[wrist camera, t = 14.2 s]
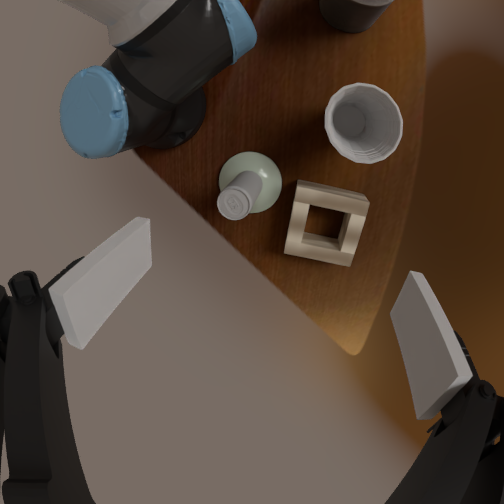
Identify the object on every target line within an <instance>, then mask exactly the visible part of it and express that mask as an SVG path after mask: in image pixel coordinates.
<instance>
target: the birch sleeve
mask: <svg viewBox="0 0 504 504" xmlns="http://www.w3.org/2000/svg"><path fill="white" fill-rule="evenodd" d="M369 204H370V202H369V201H368V200H367V198H366V197H365V195H364V194H361V193H357V192H353V191H349V190H345V189H340V188H336V187H331V186H327V185H322V184H318V183H313V182H308V181H303V180H298V181H297V186H296V191H295V196H294V202H293V207H292V212H291V217H290V222H289V227H288V232H287V237H286V242H285V248H284V253H285V254H290V255H295V256H300V257H305V258H310V259H315V260H320V261H325V262H330V263H334V264H339V265H344V266H349V267H350V265H351V262H352V259H353V256H354V253H355V250H356V247H357V244H358V241H359V238H360V234H361V231H362V228H363V225H364V221H365V218H366V214H367V211H368V207H369ZM309 205H315V206H319V207H324V208H329V209H333V210H338V211H342V212H345V215H344V218H343V222H342V226H341V229H340V233H339V236H338V239H335V238H330V237H325V236H321V235H316V234H311V233H306V232H304V228H305V224H306V219H307V215H308V210H309Z"/></svg>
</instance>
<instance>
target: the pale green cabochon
mask: <svg viewBox="0 0 504 504" xmlns="http://www.w3.org/2000/svg"><path fill="white" fill-rule="evenodd" d="M247 170H248V171H253V172H255V173H256V174H258V175H259V176H260V177H261V179H262V183H263V186H262V190H261V192H260V194H259V196H258V198H257V199H256V201H255V203H254V205H253V207H252V209H251V211H250V212H249V213H258V212H262V211H264V210H266V209H268V208H269V207H271V206H272V205H273V204H274V203H275V202H276V200H277V199H278V197H279V195H280V192H281V188H282V177H281V173H280V171H279V169H278V167H277V165H276V164H275V163H274V162H273V161H272V160H271V159H270V158H269V157H267V156H265V155H264V154H261V153H258V152H251V151H250V152H242V153H239V154H237V155H235V156H233V157H232V158H230V159H229V160H228V161H227V162H226V163H225V164H224V166H223V168H222V170H221V172H220V176H219V187H220V191H222V190H223V189H224V188H225V187H226V186H227V185H228V184H229V183H230V182H231V181H232V180H233V179H234V178H235V177H236V176H237V175H239V174H240V173H241V172H243V171H247Z"/></svg>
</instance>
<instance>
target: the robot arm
mask: <svg viewBox="0 0 504 504" xmlns="http://www.w3.org/2000/svg"><path fill="white" fill-rule="evenodd" d="M58 1H60V2H62V3H65V4H67V5H69V6H71V7H73V8H75V9H77V10H79V11H80V12H83V13H84V14H86V15H88V16H90V17H92V18H94V19H95V20H97V21H99V22H101V23H103V24H104V25H106V26H107V27H108V34H109V44H111V45H112V46H114V47H115V48H117V49H116V50H115V51H114V52H113V53H112V54H111V55H110V56H109V58H108V59H107V60H106V61H105V62H104V63H103V64H102V66H91V67H89V68H87V69H83V70H81V71H79V72H78V73H77V74H75V75H74V76H73V77H72V78H71V80H70V81H69V83H68V84H67V86H66V88H65V90H64V92H63V95H62V99H61V104H60V116H61V117H60V123H61V129H62V132H63V135H64V137H65V139H66V141H67V142H68V144H69V146H70V147H71V148H72V149H73V150H74V151H75V152H76V153H77V154H79V155H80V156H82V157H85V158H91V159H97V158H103V157H110V156H113V155H115V154H117V153H120V152H123V151H126V150H129V149H132V148H136V147H139V146H142V145H146V146H149V147H152V148H157V149H167V148H172V147H175V146H178V145H181V144H183V143H185V142H186V141H188V140H189V139H190V138H192V137H193V136H194V135H195V133H196V132H197V131H198V130H199V128H200V126H201V124H202V122H203V120H204V117H205V112H206V98H205V94H204V91H203V89H202V87H201V86H202V85H204V84H205V83H206V82H208V81H209V80H210V79H211V78H213V77H214V76H215V75H217V74H218V73H219V72H221V71H222V70H223V69H225V68H226V67H227V66H229V65H233V64H234V63H235V62H236V61H237V59H238V58H240V57H241V56H242V55H244V54H245V53H246V52H248V51H249V50H251V49H252V48H253V47H254V45H255V43H256V40H257V33H256V30H255V27H254V25H253V23H252V21H251V19H250V17H249V15H248V14H247V12H246V10H245V9H244V7H243V6H242V4H241V3H240V2H239V0H58ZM151 266H152V259H151V239H150V219H147V218H142V217H136V218H135V219H133V220H132V221H131V222H129V223H128V224H127V225H125V226H124V227H123V228H121V229H120V230H119V231H117V232H116V233H115V234H113V235H112V236H111V237H109V238H108V239H107V240H106V241H104V242H103V243H102V244H101V245H99V246H98V247H97V248H96V249H94V250H93V251H92V252H91V253H89V254H88V255H87V256H86V257H81V258H79V259H77V260H75V261H73V262H72V263H71V264H69V265H68V266H67V267H66V269H63V270H62V271H61V272H60V274H58V275H56V276H55V277H54V278H53V279H52V280H51V281H50V282H48V283H47V284H46V285H45V286H44V287H43V288H42V289H41V288H40V285H39V282H38V278H37V275H36V274H35V273H34V272H33V271H23V272H19V273H17V274H16V275H14V276H13V277H12V278H11V279H10V280H9V282H8V285H9V288H10V291H11V293H12V296H13V297H11V296H8V295H7V293H6V290H5V288H4V287H3V286H1V285H0V472H1V456H2V444H3V436H4V429H5V442H6V452H7V459H8V467H9V479H7V480H6V481H4V482H3V485H2V495H3V500H4V504H96V503H95V502H94V500H93V499H92V497H91V495H90V492H89V489H88V486H87V483H86V480H85V476H84V473H83V470H82V467H81V463H80V459H79V455H78V451H77V447H76V443H75V439H74V434H73V430H72V425H71V419H70V414H69V408H68V401H67V394H66V387H65V378H64V368H63V354H62V344H61V340H60V338H61V336H62V335H63V334H65V336H66V338H67V341H68V343H69V344H71V345H73V346H75V347H77V348H79V349H81V350H83V349H84V347H85V346H86V345H87V343H88V342H89V341H90V339H91V338H92V337H93V336H94V334H95V333H96V332H97V331H98V329H99V328H100V327H101V325H102V324H103V323H104V322H105V320H106V319H107V318H108V317H109V316H110V314H111V313H112V312H113V311H114V309H115V308H116V307H117V306H118V305H119V303H120V302H121V301H122V300H123V299H124V297H125V296H126V295H127V294H128V293H129V292H130V290H131V289H132V288H133V287H134V286H135V284H136V283H137V282H138V281H139V280H140V279H141V277H142V276H143V275H144V274H145V273H146V272H147V271H148V270H149V268H150V267H151ZM390 316H391V319H392V322H393V325H394V328H395V332H396V335H397V338H398V342H399V345H400V349H401V353H402V356H403V360H404V363H405V368H406V371H407V376H408V380H409V383H410V388H411V392H412V397H413V402H414V407H415V412H416V417H417V420H423V419H432V418H433V417H434V416H435V415H436V414H437V413H438V412H439V411H441V414H442V418H441V419H439V420H438V421H437V422H436V423H435V424H434V425H433V426H432V427H431V428H429V429H428V431H427V433H429V432H430V431H431V430H433V431H432V433H431V435H430V437H429V439H428V440H427V442H426V444H425V446H424V447H423V449H422V450H421V452H420V454H419V455H418V457H417V459H416V460H415V462H414V463H413V465H412V467H411V468H410V469H409V471H408V473H407V474H406V476H405V477H404V478H403V480H402V481H401V483H400V484H399V485H398V487H397V488H396V489H395V491H394V492H393V493H392V495H391V496H390V497H389V499H388V500H387V501H386V503H385V504H504V397H500V396H498V395H496V391H495V389H494V388H493V386H492V385H491V384H490V383H489V382H487V381H485V380H480V379H479V376H478V374H477V371H476V369H475V366H474V364H473V362H472V360H471V357H470V356H469V353H468V351H467V349H466V346H465V344H464V342H463V340H462V338H461V337H460V336H459V335H458V333H457V332H456V331H453V329H452V327H451V326H450V323H449V321H448V319H447V317H446V315H445V314H444V311H443V310H442V308H441V306H440V304H439V302H438V300H437V298H436V297H435V295H434V293H433V291H432V290H431V288H430V286H429V284H428V283H427V281H426V279H425V277H424V276H423V274H422V273H418V272H413V271H410V272H409V274H408V277H407V279H406V281H405V283H404V285H403V288H402V290H401V292H400V294H399V296H398V298H397V300H396V302H395V304H394V306H393V308H392V310H391V312H390ZM498 436H500V441H499V442H498V443H497V444H496V445H494V440H495V439H496V438H497V437H498Z"/></svg>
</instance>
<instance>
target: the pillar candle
mask: <svg viewBox="0 0 504 504" xmlns="http://www.w3.org/2000/svg"><path fill="white" fill-rule="evenodd" d="M392 2H393V0H320V1H319V4H320V5H319V8H320V12H321V14H322V16H323V18H324V19H325V20H326V21H327V22H328V23H329V24H330V25H331V26H333V27H334V28H336V29H339V30H342V31H344V32H350V33H358V32H362V31H365V30H367V29H368V28H370V27H371V26H372V25H373V23H374V22H375V21H376V20H377V19H378V17H379V16H380V15H381V14H382V13H383V12H384V11H385V9H386V8H387V7H388V6H389V5H390V4H391V3H392Z"/></svg>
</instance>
